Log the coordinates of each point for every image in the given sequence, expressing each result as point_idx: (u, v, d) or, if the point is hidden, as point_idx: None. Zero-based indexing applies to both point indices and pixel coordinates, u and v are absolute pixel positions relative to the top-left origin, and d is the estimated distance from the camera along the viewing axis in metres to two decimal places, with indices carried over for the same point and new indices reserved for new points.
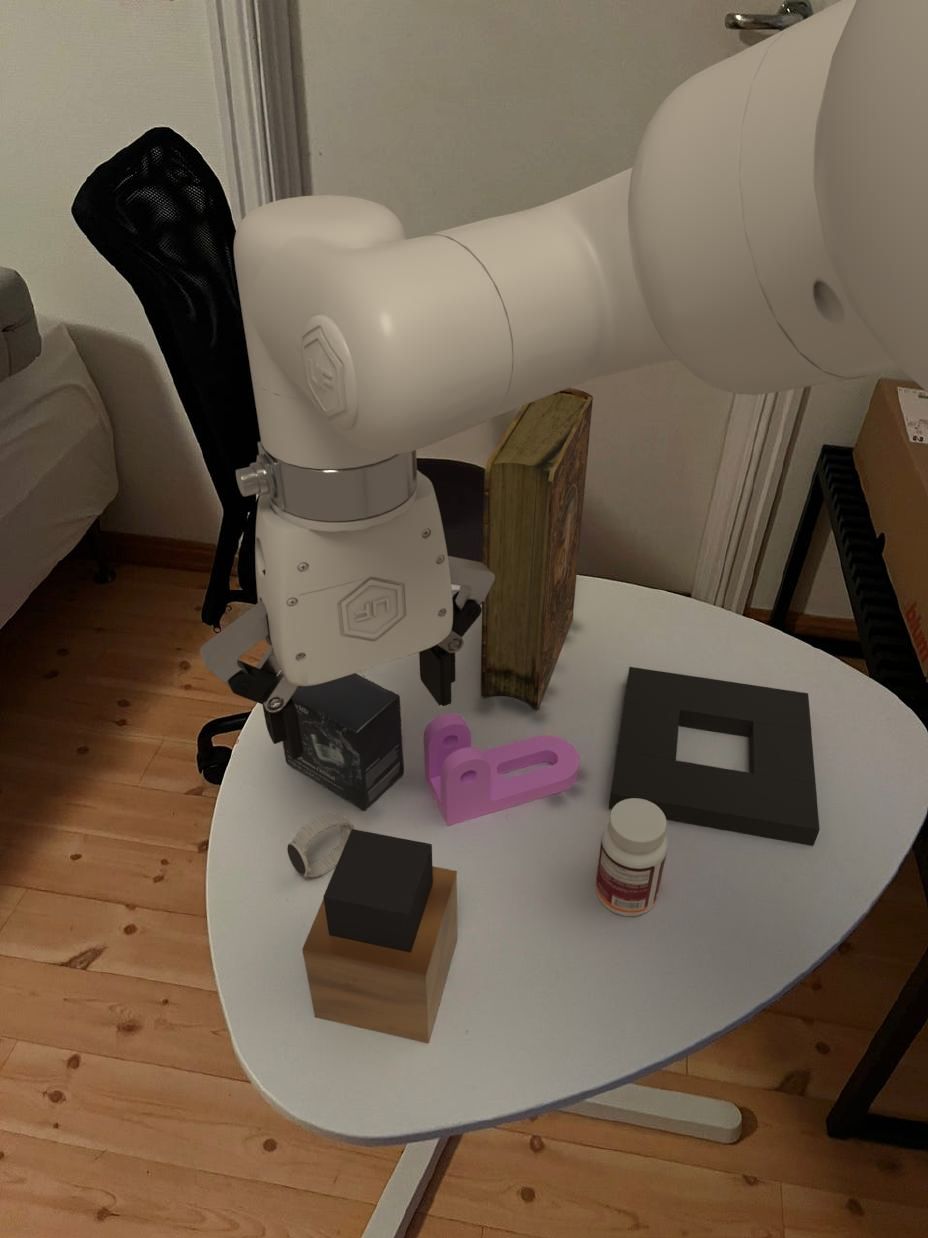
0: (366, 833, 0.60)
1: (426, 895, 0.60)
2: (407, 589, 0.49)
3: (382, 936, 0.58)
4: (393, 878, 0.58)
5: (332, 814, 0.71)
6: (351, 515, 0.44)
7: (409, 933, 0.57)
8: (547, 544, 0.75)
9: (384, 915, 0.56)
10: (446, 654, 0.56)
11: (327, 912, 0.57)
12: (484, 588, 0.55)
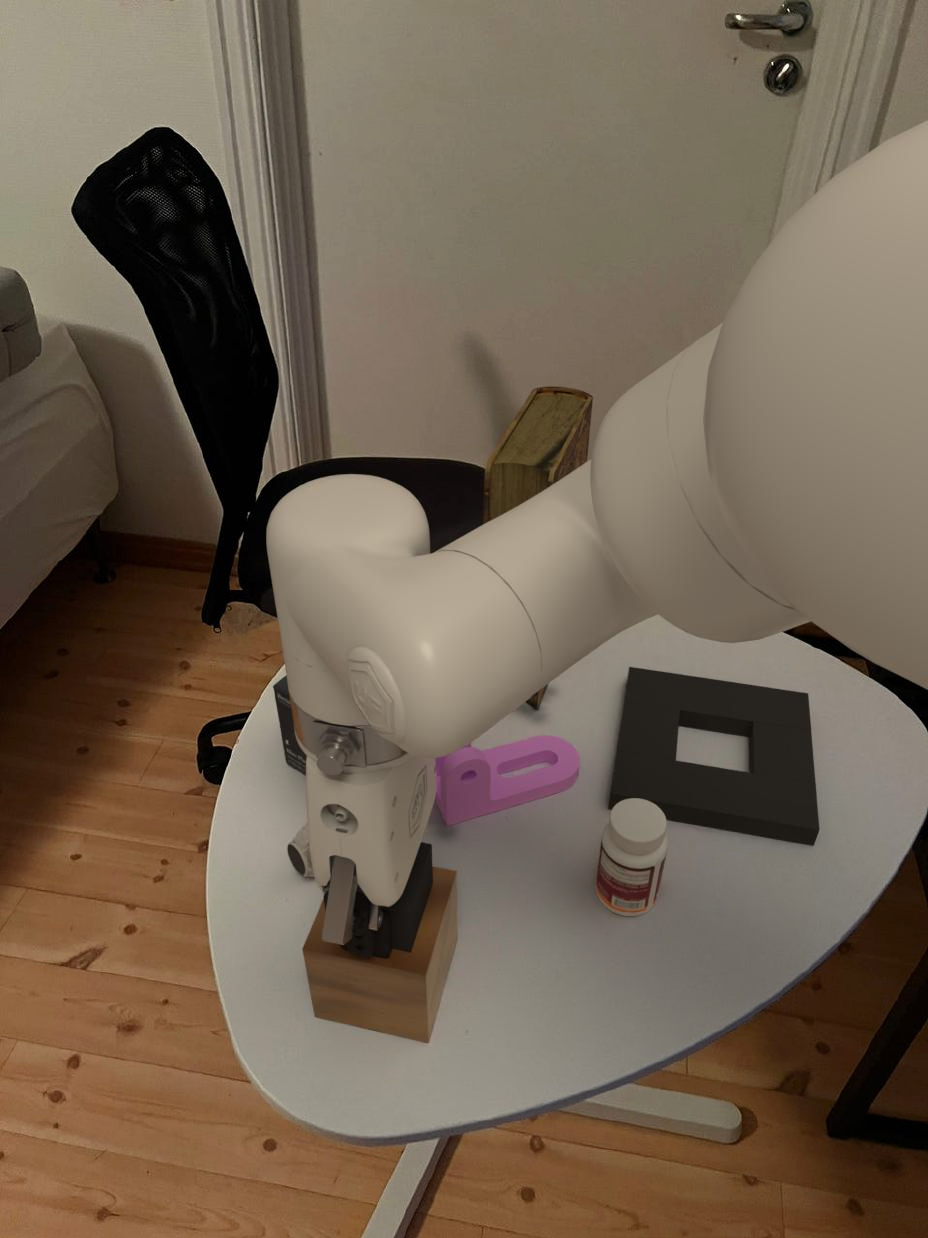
0: None
1: (426, 895, 0.60)
2: (426, 767, 0.54)
3: None
4: None
5: None
6: None
7: (409, 933, 0.57)
8: None
9: None
10: None
11: None
12: None
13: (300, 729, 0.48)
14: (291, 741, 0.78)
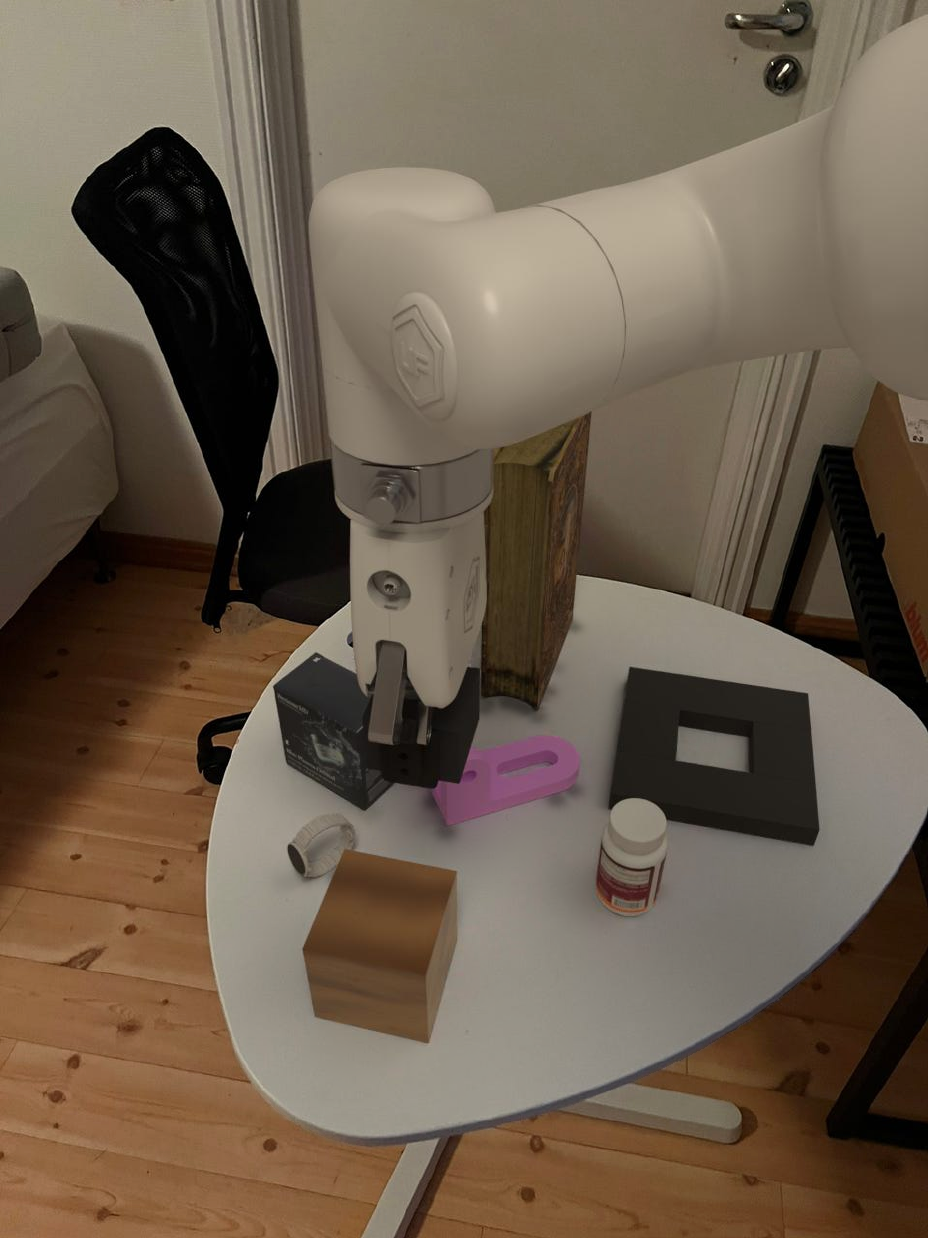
0: None
1: (473, 727, 0.54)
2: (479, 562, 0.48)
3: None
4: None
5: (332, 814, 0.71)
6: (484, 493, 0.42)
7: (458, 758, 0.51)
8: (547, 544, 0.75)
9: None
10: None
11: (366, 737, 0.51)
12: None
13: (344, 484, 0.41)
14: (291, 741, 0.78)
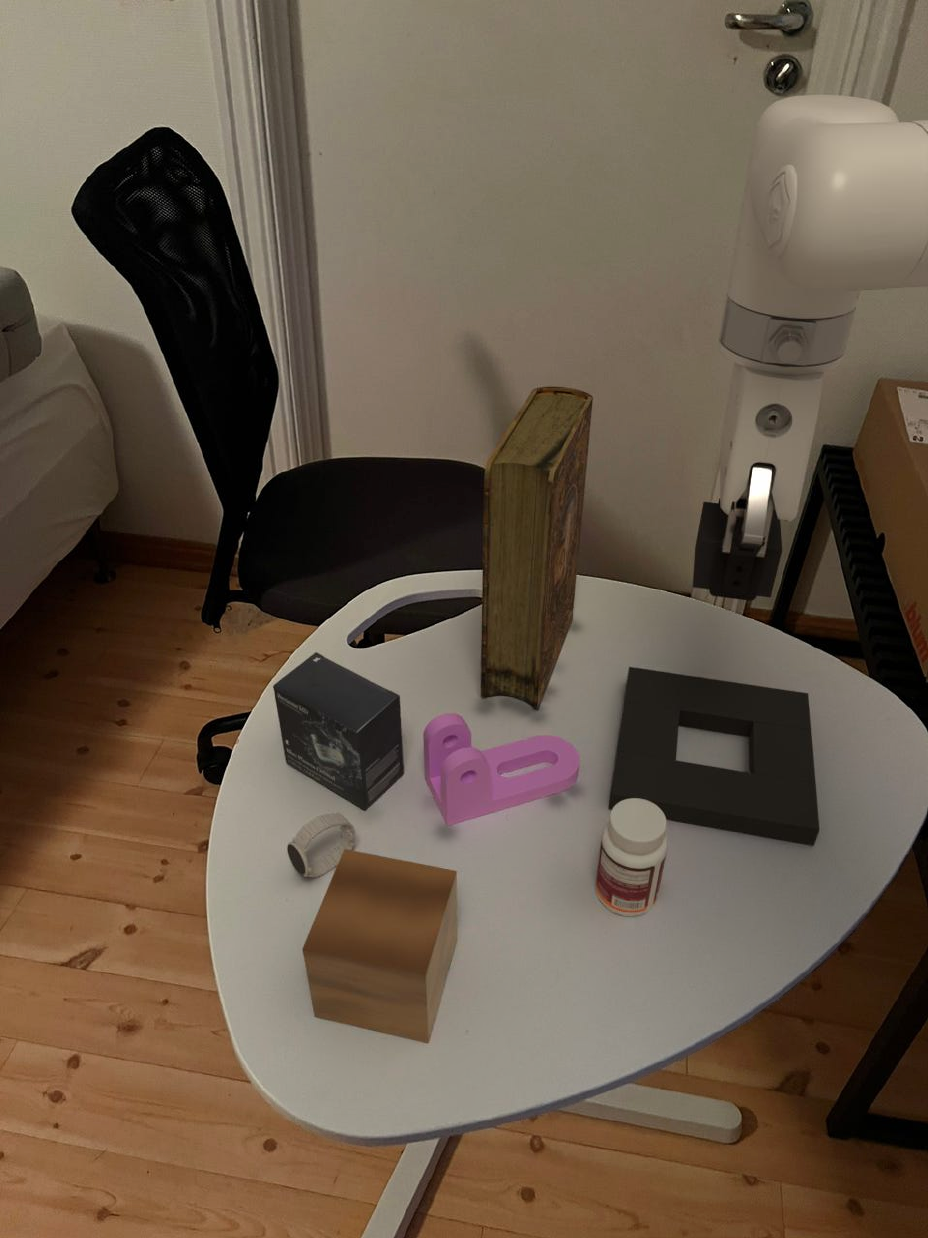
0: (718, 504, 0.68)
1: None
2: None
3: None
4: None
5: (332, 814, 0.71)
6: (844, 348, 0.56)
7: (775, 574, 0.64)
8: (547, 544, 0.75)
9: None
10: None
11: (700, 559, 0.65)
12: None
13: (744, 338, 0.55)
14: (291, 741, 0.78)
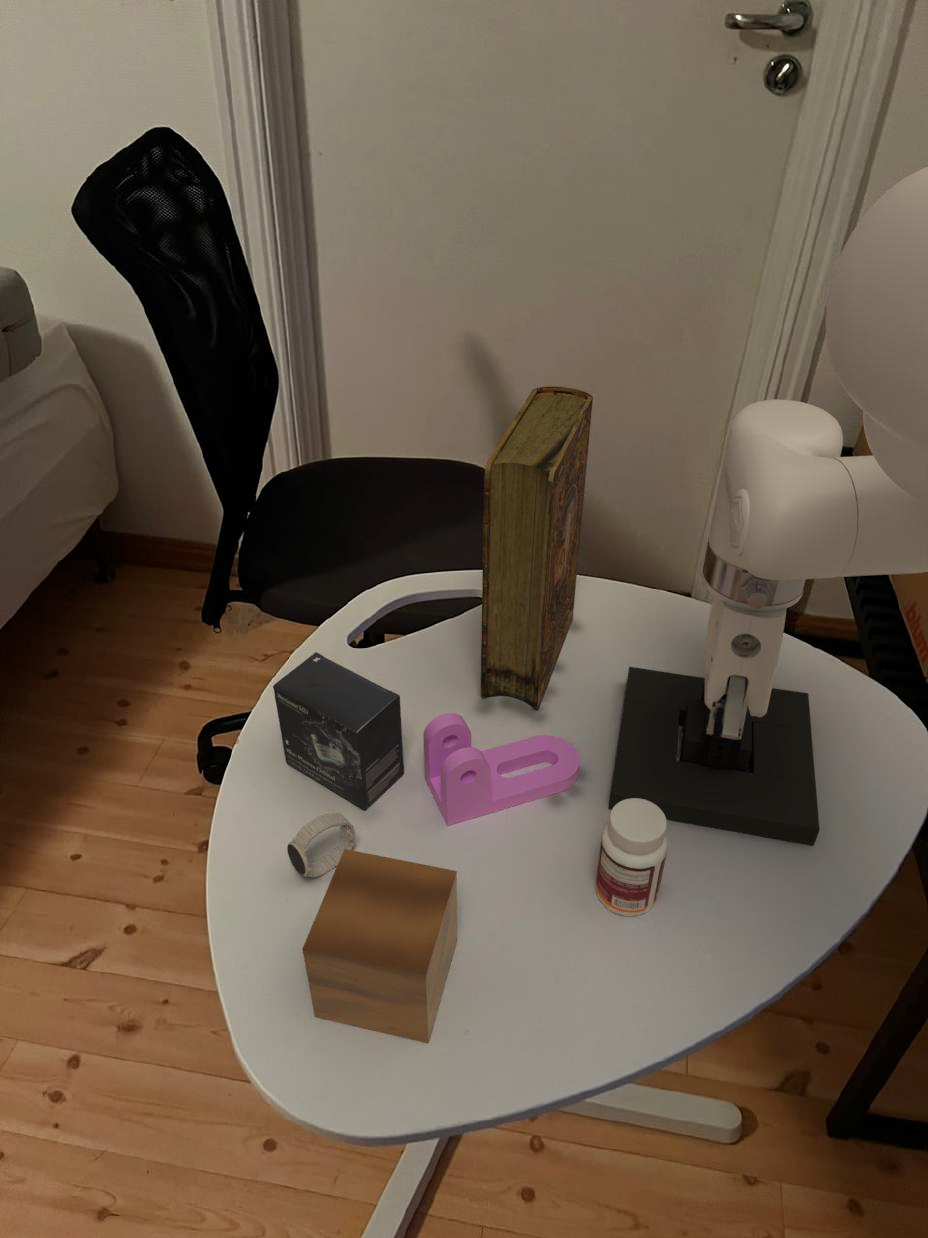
0: (700, 700, 0.82)
1: None
2: None
3: None
4: None
5: (332, 814, 0.71)
6: (804, 586, 0.69)
7: (746, 767, 0.78)
8: (547, 544, 0.75)
9: None
10: None
11: (684, 753, 0.79)
12: None
13: (722, 581, 0.68)
14: (291, 741, 0.78)
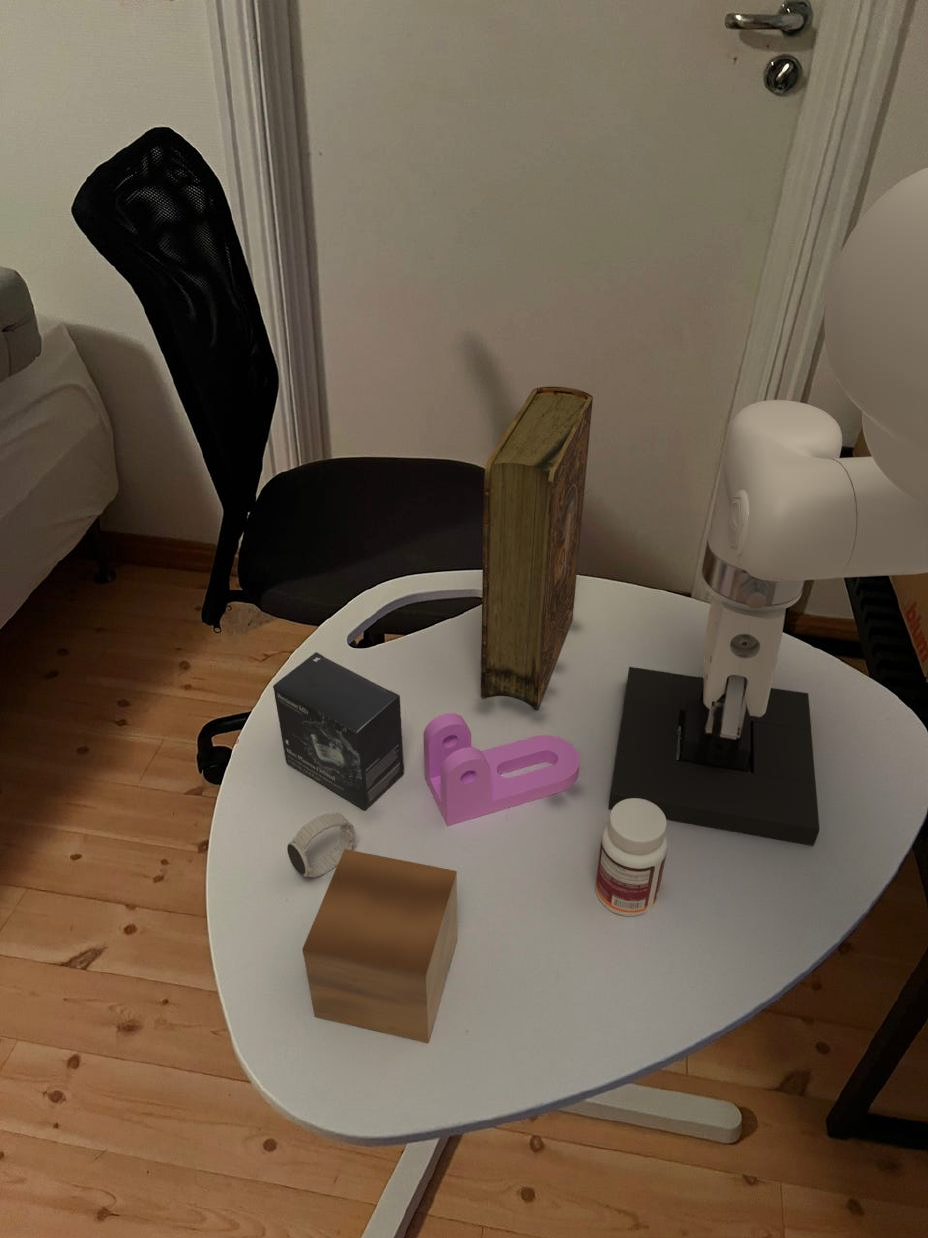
0: (699, 701, 0.82)
1: None
2: None
3: None
4: None
5: (332, 814, 0.71)
6: (803, 586, 0.69)
7: (745, 767, 0.79)
8: (547, 544, 0.75)
9: None
10: None
11: (683, 753, 0.79)
12: None
13: (721, 581, 0.68)
14: (291, 741, 0.78)
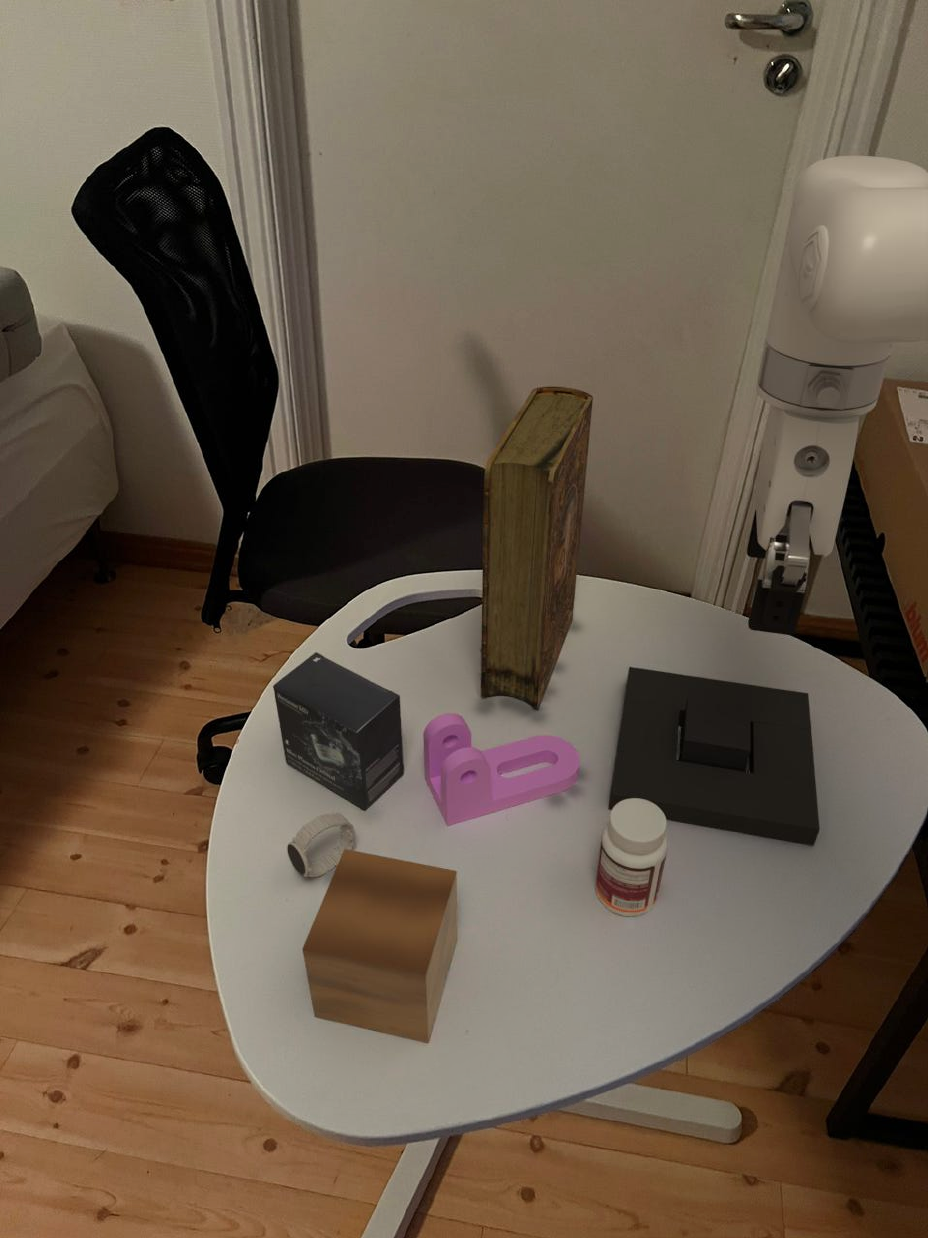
0: (699, 700, 0.82)
1: None
2: None
3: None
4: (730, 728, 0.79)
5: (332, 814, 0.71)
6: (879, 392, 0.59)
7: (745, 766, 0.79)
8: (547, 544, 0.75)
9: (730, 752, 0.78)
10: None
11: (683, 752, 0.79)
12: None
13: (783, 383, 0.58)
14: (291, 741, 0.78)
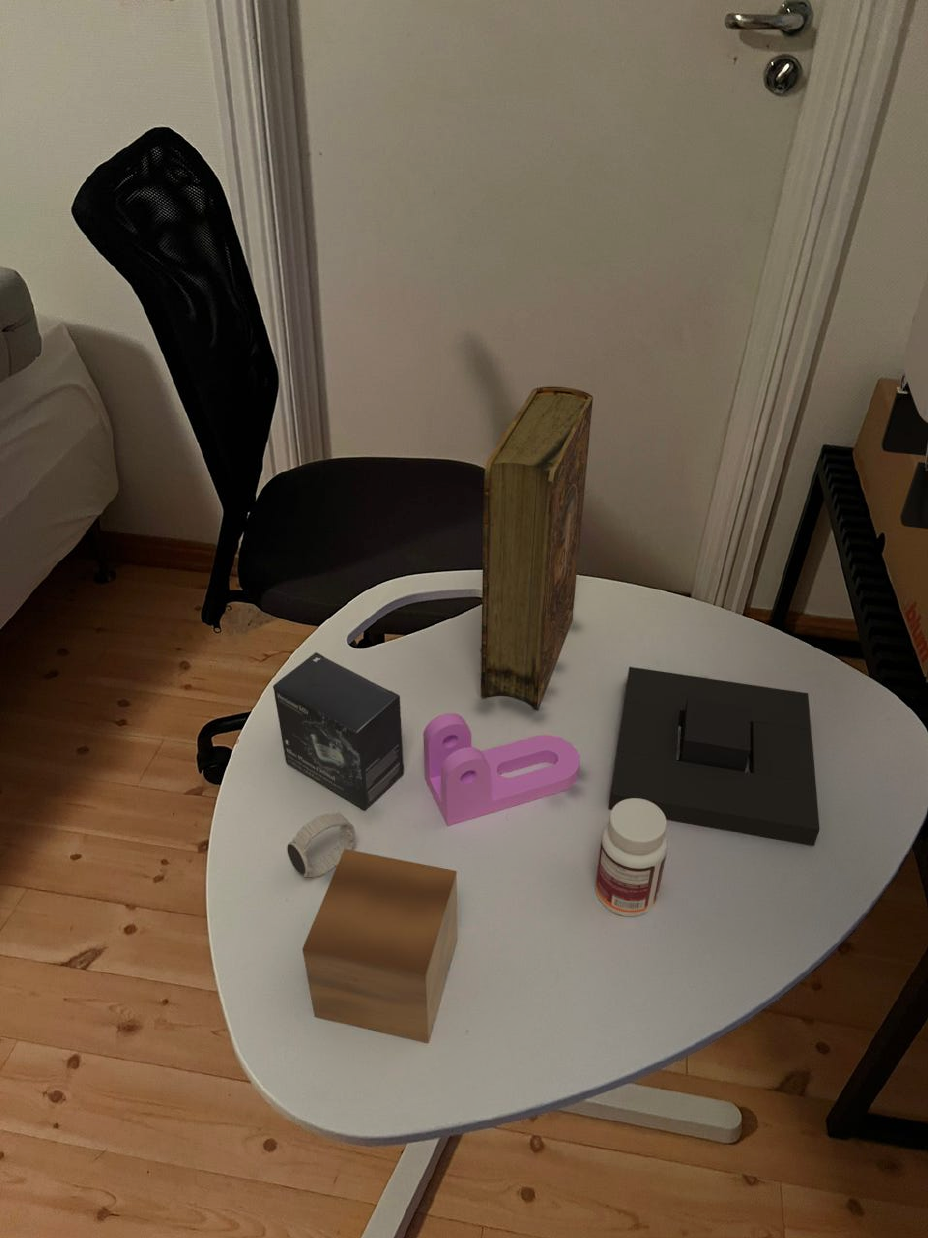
0: (699, 700, 0.82)
1: None
2: None
3: None
4: (730, 728, 0.79)
5: (332, 814, 0.71)
6: None
7: (745, 766, 0.79)
8: (547, 544, 0.75)
9: (730, 752, 0.78)
10: None
11: (683, 752, 0.79)
12: None
13: None
14: (291, 741, 0.78)
